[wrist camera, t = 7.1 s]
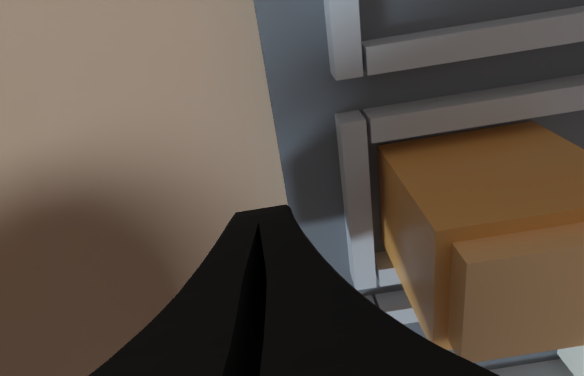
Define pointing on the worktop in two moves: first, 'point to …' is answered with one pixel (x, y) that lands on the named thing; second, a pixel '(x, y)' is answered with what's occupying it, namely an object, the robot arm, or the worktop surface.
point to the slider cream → (573, 359)
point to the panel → (407, 110)
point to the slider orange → (488, 238)
